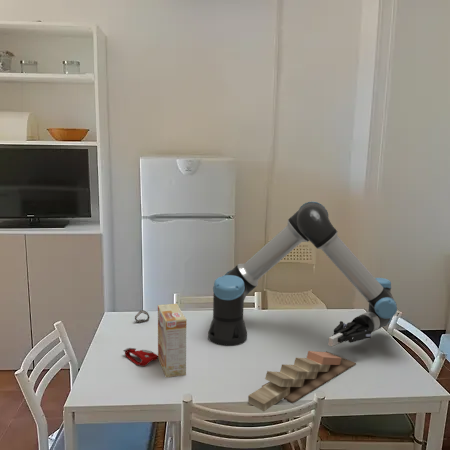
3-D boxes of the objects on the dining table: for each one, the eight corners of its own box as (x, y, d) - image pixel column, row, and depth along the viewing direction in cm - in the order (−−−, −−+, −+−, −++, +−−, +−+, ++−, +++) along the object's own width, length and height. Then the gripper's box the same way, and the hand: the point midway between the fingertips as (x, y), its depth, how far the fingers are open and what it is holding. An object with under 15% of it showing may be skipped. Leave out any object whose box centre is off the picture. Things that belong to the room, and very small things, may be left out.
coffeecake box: (157, 357, 165) (157, 304, 161) (177, 355, 167) (177, 302, 163) (165, 378, 151) (165, 320, 147) (186, 375, 153) (187, 318, 149)
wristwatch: (150, 321, 196) (150, 310, 195) (136, 324, 193) (136, 313, 192) (147, 319, 199) (147, 307, 198) (133, 321, 196) (133, 310, 195)
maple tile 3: (302, 387, 146) (280, 386, 138) (287, 379, 151) (265, 379, 142) (304, 379, 147) (282, 378, 138) (289, 372, 151) (267, 371, 142)
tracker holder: (158, 350, 168) (159, 356, 159) (155, 362, 168) (156, 369, 158) (125, 343, 167) (123, 349, 157) (122, 356, 166) (120, 362, 156)
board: (292, 403, 138) (292, 401, 138) (261, 387, 147) (261, 385, 147) (355, 364, 163) (356, 362, 163) (326, 352, 172) (326, 351, 172)
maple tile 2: (315, 379, 152) (295, 379, 143) (300, 372, 156) (279, 371, 147) (317, 371, 152) (297, 371, 143) (302, 365, 156) (281, 364, 147)
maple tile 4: (289, 393, 142) (263, 411, 134) (274, 386, 146) (248, 402, 138) (289, 386, 141) (263, 404, 133) (274, 379, 146) (248, 395, 137)
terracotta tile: (339, 365, 161) (321, 364, 153) (324, 358, 166) (306, 358, 157) (341, 358, 162) (323, 357, 153) (326, 352, 166) (308, 351, 157)
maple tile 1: (328, 371, 157) (309, 371, 148) (313, 365, 161) (293, 364, 152) (330, 364, 157) (311, 364, 148) (315, 358, 161) (295, 357, 152)
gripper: (380, 339, 173) (346, 358, 157) (349, 328, 182) (313, 346, 166) (382, 319, 172) (348, 337, 155) (350, 310, 181) (315, 326, 164)
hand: (330, 342), depth 161 cm, fingers closed
